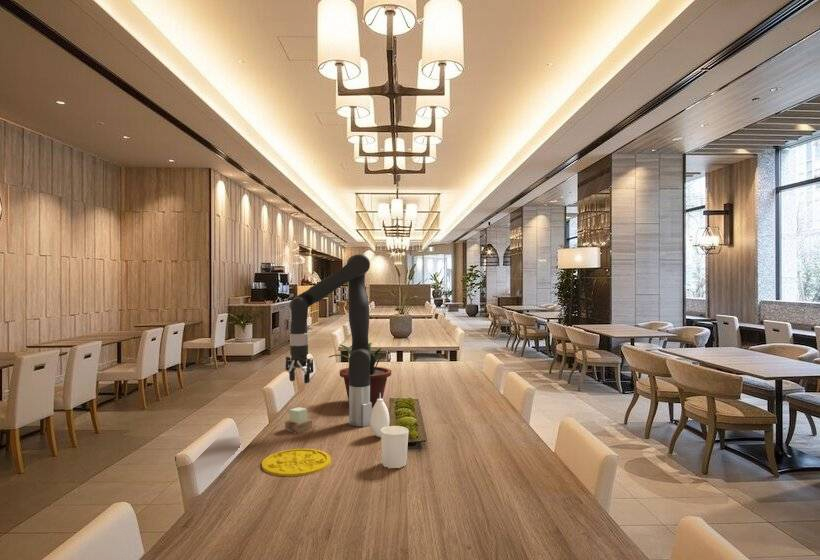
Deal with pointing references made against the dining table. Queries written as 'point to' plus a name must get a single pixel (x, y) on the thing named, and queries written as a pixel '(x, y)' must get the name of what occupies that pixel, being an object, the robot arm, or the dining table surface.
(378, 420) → the sauce bottle
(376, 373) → the potted plant
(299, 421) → the sage wooden cube
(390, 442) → the candle holder
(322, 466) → the decorative medallion
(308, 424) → the tan square block
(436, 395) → the dining table surface
